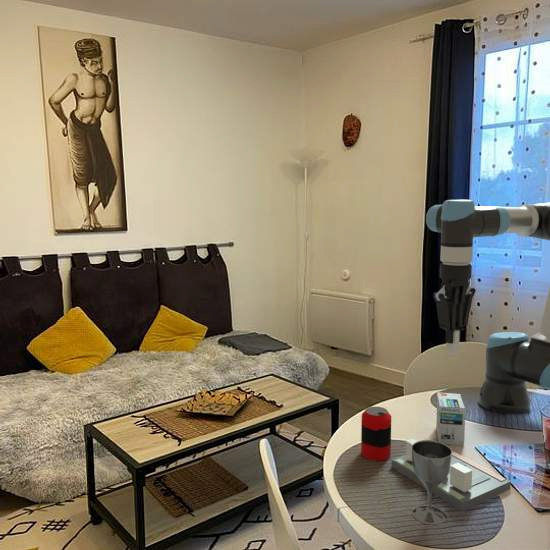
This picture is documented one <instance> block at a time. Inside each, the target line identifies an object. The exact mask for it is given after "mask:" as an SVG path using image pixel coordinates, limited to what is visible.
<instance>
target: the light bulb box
mask: <svg viewBox="0 0 550 550" xmlns="http://www.w3.org/2000/svg"><path fill="white" fill-rule="evenodd" d="M466 411H467V410H466V406H465V403H464V402H463V398H462V394H460V393H451V392H450V393H449V392H439V391H438V392H436V427H435V428H436V433H437V439H438V442H441V443H444V444H446V445H453V446H465V435H466V434H465V431H466V430H465V429H466V427H465V426H466Z"/></svg>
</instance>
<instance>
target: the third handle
mask: <svg viewBox="0 0 550 550" xmlns="http://www.w3.org/2000/svg"><path fill="white" fill-rule="evenodd" d="M450 484H451V485H452V486H454V487H456V488H457V489H459V490H461V491H463V492H466V491H468V490H471V488H472V470H471V469H469V468H467V467H465V466H463V465H461V464H460V463H456V464H453V465H451V466H450Z"/></svg>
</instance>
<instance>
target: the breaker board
mask: <svg viewBox="0 0 550 550" xmlns="http://www.w3.org/2000/svg"><path fill="white" fill-rule="evenodd" d="M451 451H452V455H451V465H453V464H456V463H460V464H461V465H463V466H465V467H467V468H469V469H471V470H472V488H471V490H468V491H466V492H463V491H461V490H459V489H457V488H456V487H454V486H452V485H451V484H450V470H449V474H448V476H447V478H446V479H445V480H444V481H443V482H442V483H440V484H439V485H438V486H437V487H436V488H435V489H434V492H433V495H435V496H437V497H439V498H440V499H441V500H443V501H445V502H447V503H448V504H449V505H451V506H453V508H456V509H458V510H460V511H461V512H463V511H466V510H467V509H468V510H469V509H470V508H473V507H475V506H476V505H478V504H481V503H483V502H486V501H488V500H490V499H493V498H494V497H496V496H499V495H501V494H503V493H506V492H508V491H510V490H511V480H509V479H508V478H505V477H503V476H501V475H499V474H497V473H496V472H493V471H491V470H490V469H488V468H486V467H484V466H482V465H480V464H478V463H476V462H474V461H472V459H471V460H470V459H469V458H466V457H465V456H463V455H461V454H460V453H457V452H455V451H454V450H451ZM451 465H450V466H451ZM391 468H392V469H394V470H395V471H397V472H399V473H400V474H402V475H404V476H405V477H406V478H408V479H410V480H412V481H413V482H415V483H416V484H417V485H419V486H420V487H422V488H424V489H426V487H425V485H424V484H423V483H422V482H421V481H420V479H419V478H418V477H417V476H416V474H415V471H414V468H413V462H412V461H410V460H408V459H407V458H406V454H403V455H401V456H398V457H395V458H392V459H391Z"/></svg>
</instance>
